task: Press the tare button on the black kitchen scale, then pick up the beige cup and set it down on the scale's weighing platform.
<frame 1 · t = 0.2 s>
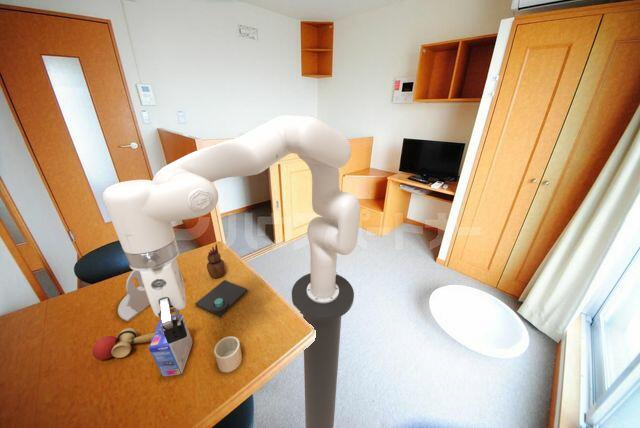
hand: (176, 320, 49), 27 cm above the table, tool pointing down, fingers open, 9 cm apart
scale: (222, 298, 90), on the table
ink cartridge box: (178, 359, 69), on the table
beige cup: (230, 360, 68), on the table
tare button: (219, 302, 83), point 4 cm above the table, slide at 0.1 cm
wooden figurine: (217, 275, 102), on the table
ornament: (146, 294, 92), on the table
kendama: (135, 347, 72), on the table
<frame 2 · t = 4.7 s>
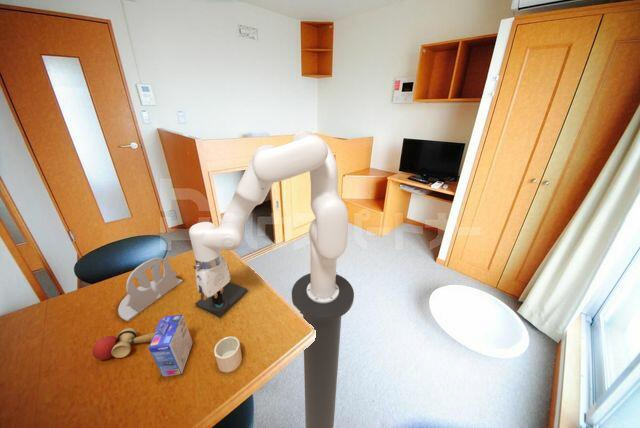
hand: (218, 302, 83), 4 cm above the table, tool pointing down, fingers closed
tare button: (219, 304, 84), point 3 cm above the table, slide at -0.6 cm, touching gripper
everything else where it was.
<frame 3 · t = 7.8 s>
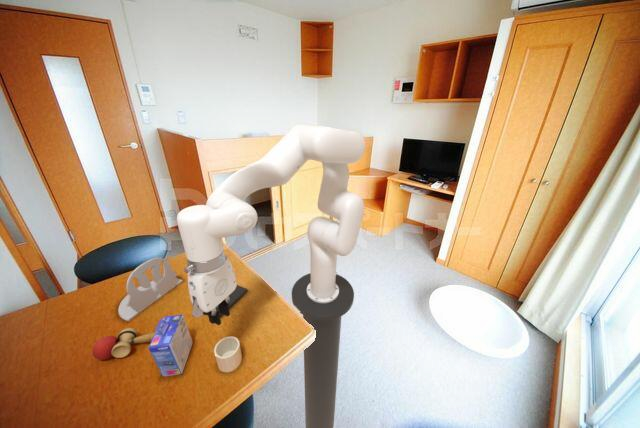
hand: (220, 317, 61), 17 cm above the table, tool pointing down, fingers closed
tare button: (219, 302, 83), point 4 cm above the table, slide at 0.1 cm
everything else where it was.
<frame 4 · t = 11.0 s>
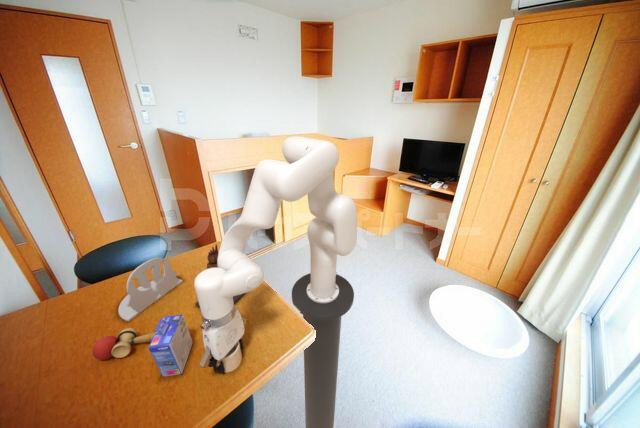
hand: (229, 358, 68), 1 cm above the table, tool pointing down, fingers closed on beige cup, 6 cm apart
beige cup: (230, 360, 68), on the table, touching gripper
everything else where it was.
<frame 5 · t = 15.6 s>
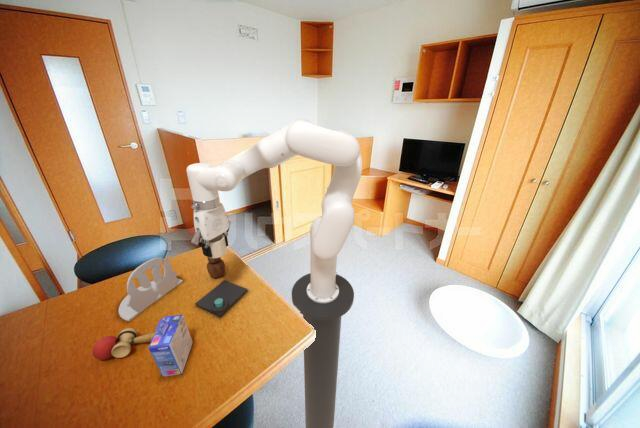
hand: (216, 250, 82), 21 cm above the table, tool pointing down, fingers closed on beige cup, 6 cm apart
beige cup: (217, 252, 83), point 20 cm above the table, touching gripper
everything else where it was.
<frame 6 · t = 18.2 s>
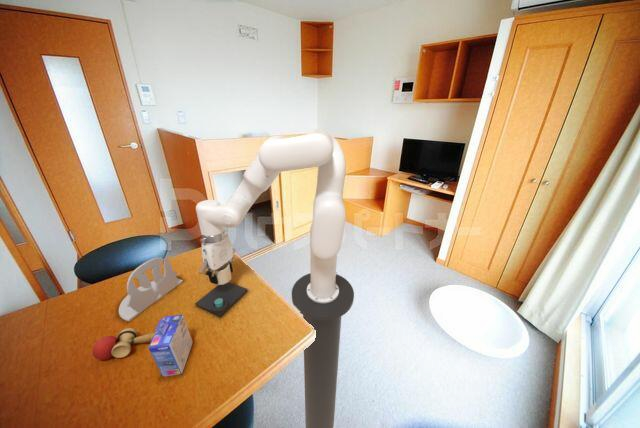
hand: (222, 276, 89), 8 cm above the table, tool pointing down, fingers closed on beige cup, 6 cm apart
beige cup: (222, 278, 89), point 7 cm above the table, touching gripper
everything else where it was.
when the fingers open (2 cm above the table, at t = 20.3 s): beige cup stays where it is, resting on scale.
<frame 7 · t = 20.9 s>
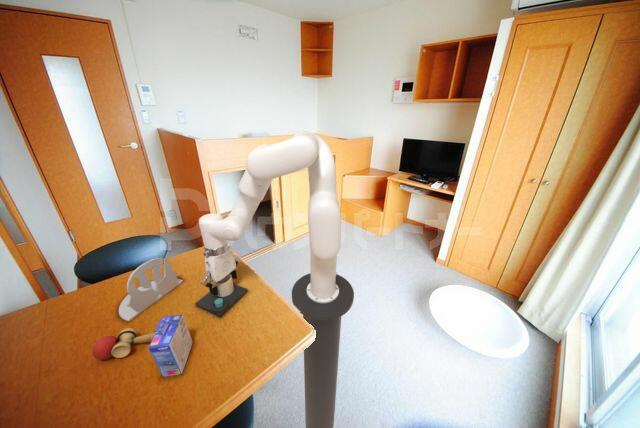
hand: (224, 285, 91), 4 cm above the table, tool pointing down, fingers open, 9 cm apart
beige cup: (224, 290, 92), point 1 cm above the table, touching scale
everything else where it was.
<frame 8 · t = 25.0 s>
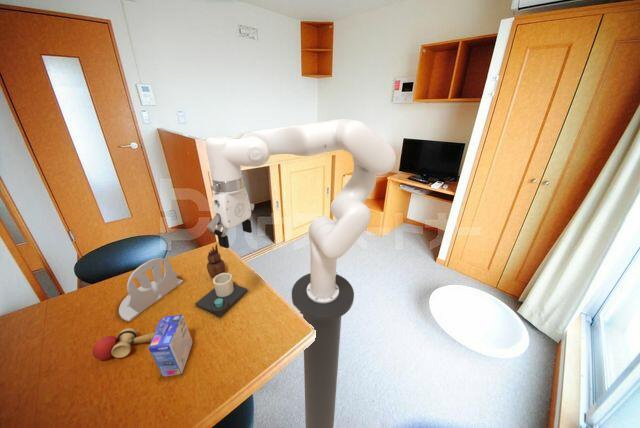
hand: (236, 238, 71), 30 cm above the table, tool pointing down, fingers open, 9 cm apart
nothing on the table moved.
at the end: tare button pushed in 1.0 cm at the most during the clip, back to where it started at the end; beige cup inside the target area on the scale (0.3 cm from its centre), point 1.4 cm above the scale's base; beige cup touching scale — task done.
